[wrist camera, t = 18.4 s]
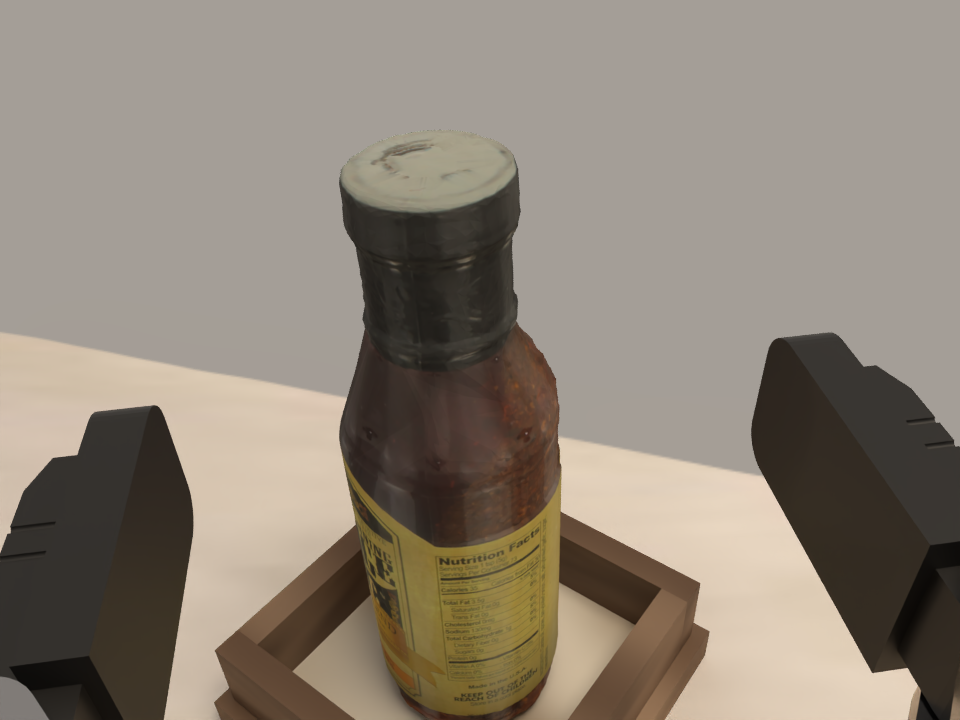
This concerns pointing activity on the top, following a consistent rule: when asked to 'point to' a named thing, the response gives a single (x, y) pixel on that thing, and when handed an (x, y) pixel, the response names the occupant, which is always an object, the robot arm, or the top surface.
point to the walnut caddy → (574, 671)
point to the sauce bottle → (451, 429)
